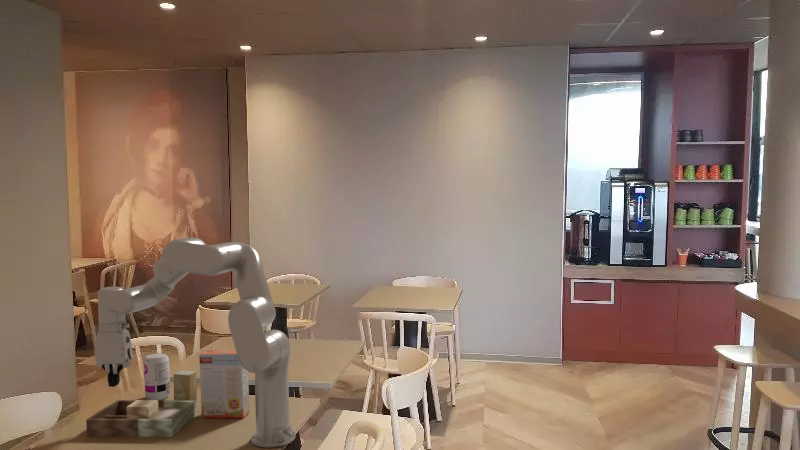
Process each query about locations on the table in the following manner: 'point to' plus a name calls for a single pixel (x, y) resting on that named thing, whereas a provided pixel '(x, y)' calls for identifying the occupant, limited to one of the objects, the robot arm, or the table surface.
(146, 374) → the supplement can
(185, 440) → the table surface
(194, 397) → the skincare box
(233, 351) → the cracker box
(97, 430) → the track
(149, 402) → the maple block
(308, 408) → the table surface
